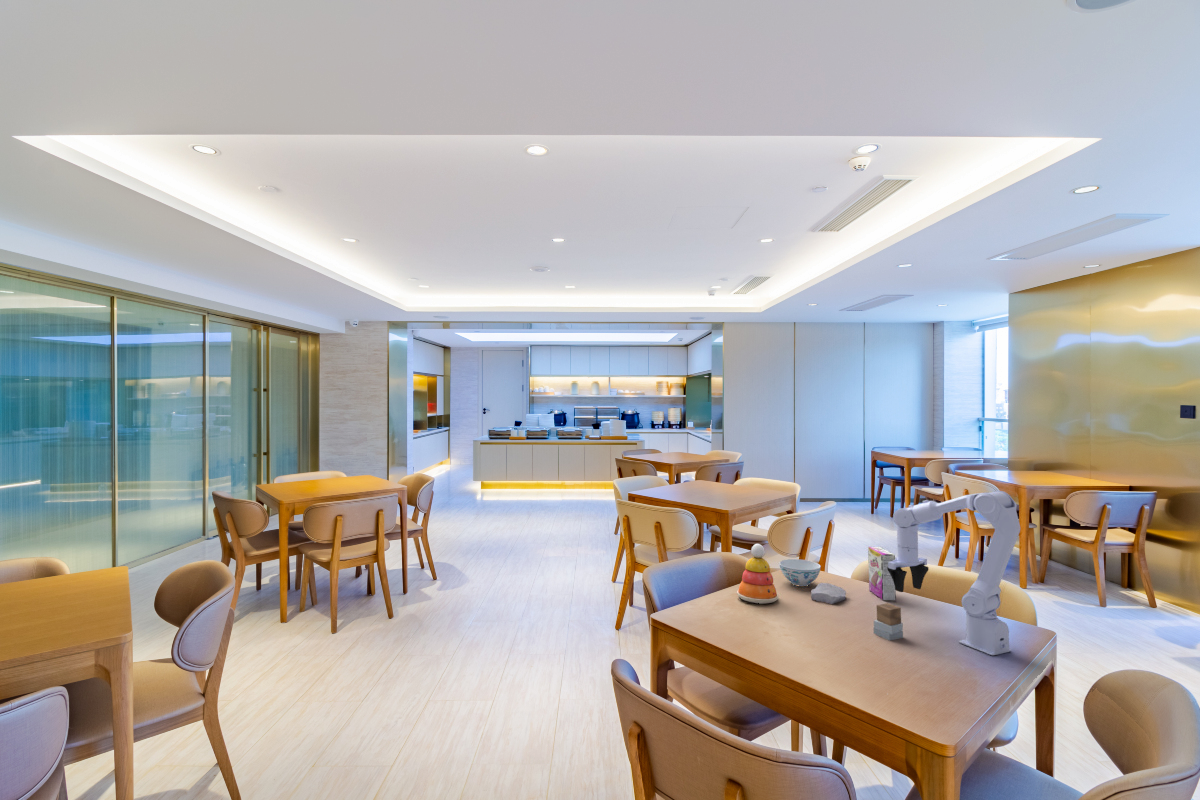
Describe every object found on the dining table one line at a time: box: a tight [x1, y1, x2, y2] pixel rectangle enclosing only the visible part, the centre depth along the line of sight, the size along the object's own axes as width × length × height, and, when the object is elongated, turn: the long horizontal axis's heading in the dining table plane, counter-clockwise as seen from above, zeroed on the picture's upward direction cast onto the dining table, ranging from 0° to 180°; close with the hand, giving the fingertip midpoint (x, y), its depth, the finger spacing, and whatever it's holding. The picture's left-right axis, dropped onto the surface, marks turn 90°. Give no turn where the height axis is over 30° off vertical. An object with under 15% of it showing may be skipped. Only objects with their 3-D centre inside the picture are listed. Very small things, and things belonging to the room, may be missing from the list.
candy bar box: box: [867, 546, 897, 602], centre depth 198 cm, size 11×5×16 cm, turn 178°
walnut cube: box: [876, 602, 902, 626], centre depth 163 cm, size 4×4×4 cm
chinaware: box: [778, 558, 822, 586], centre depth 212 cm, size 15×15×8 cm
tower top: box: [873, 619, 904, 634], centre depth 163 cm, size 6×6×2 cm
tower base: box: [873, 626, 904, 641], centre depth 163 cm, size 6×6×2 cm
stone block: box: [810, 582, 847, 605], centre depth 195 cm, size 12×5×10 cm
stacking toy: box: [736, 543, 779, 605], centre depth 195 cm, size 14×14×20 cm
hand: (908, 589), depth 172 cm, fingers open, 7 cm apart
